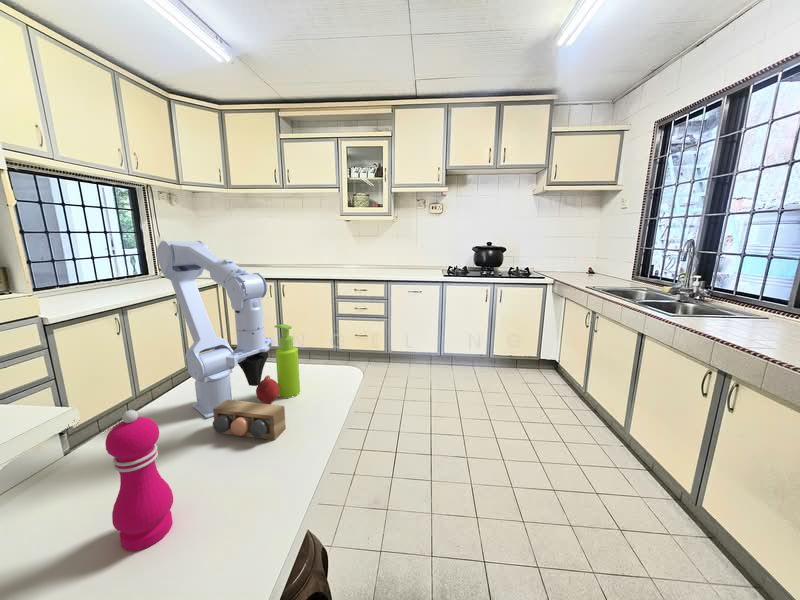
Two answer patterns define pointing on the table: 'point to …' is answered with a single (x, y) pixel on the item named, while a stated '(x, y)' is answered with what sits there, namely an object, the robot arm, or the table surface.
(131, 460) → the pepper mill
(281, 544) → the table surface
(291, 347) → the soap dispenser
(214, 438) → the table surface
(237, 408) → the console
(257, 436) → the knob
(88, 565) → the table surface
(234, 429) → the knob middle
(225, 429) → the knob
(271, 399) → the onion
